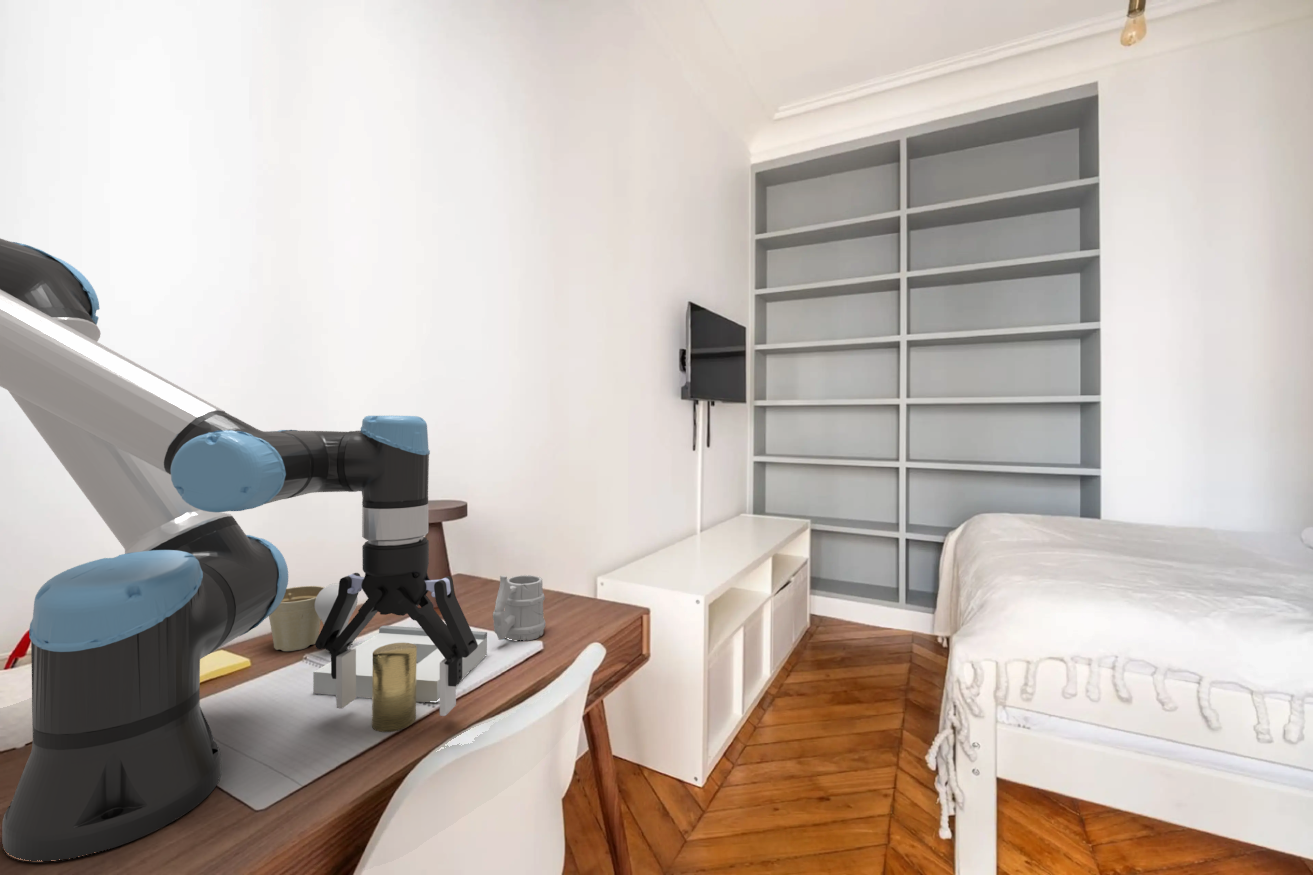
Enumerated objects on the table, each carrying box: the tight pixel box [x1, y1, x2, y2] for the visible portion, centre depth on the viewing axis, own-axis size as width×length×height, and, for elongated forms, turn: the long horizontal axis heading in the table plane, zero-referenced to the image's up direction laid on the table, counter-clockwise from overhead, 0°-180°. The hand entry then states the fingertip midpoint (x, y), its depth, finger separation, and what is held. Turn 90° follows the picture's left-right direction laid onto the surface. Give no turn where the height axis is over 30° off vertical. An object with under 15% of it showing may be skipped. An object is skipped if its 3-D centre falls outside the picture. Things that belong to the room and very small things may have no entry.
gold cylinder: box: [371, 643, 417, 733], centre depth 70 cm, size 5×5×9 cm
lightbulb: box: [315, 582, 358, 635], centre depth 91 cm, size 6×6×11 cm
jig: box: [312, 625, 488, 703], centre depth 84 cm, size 16×18×4 cm
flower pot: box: [268, 585, 326, 652], centre depth 93 cm, size 9×9×9 cm
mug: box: [492, 574, 546, 642], centre depth 98 cm, size 8×12×12 cm, turn 158°
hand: (396, 706), depth 70 cm, fingers open, 13 cm apart
